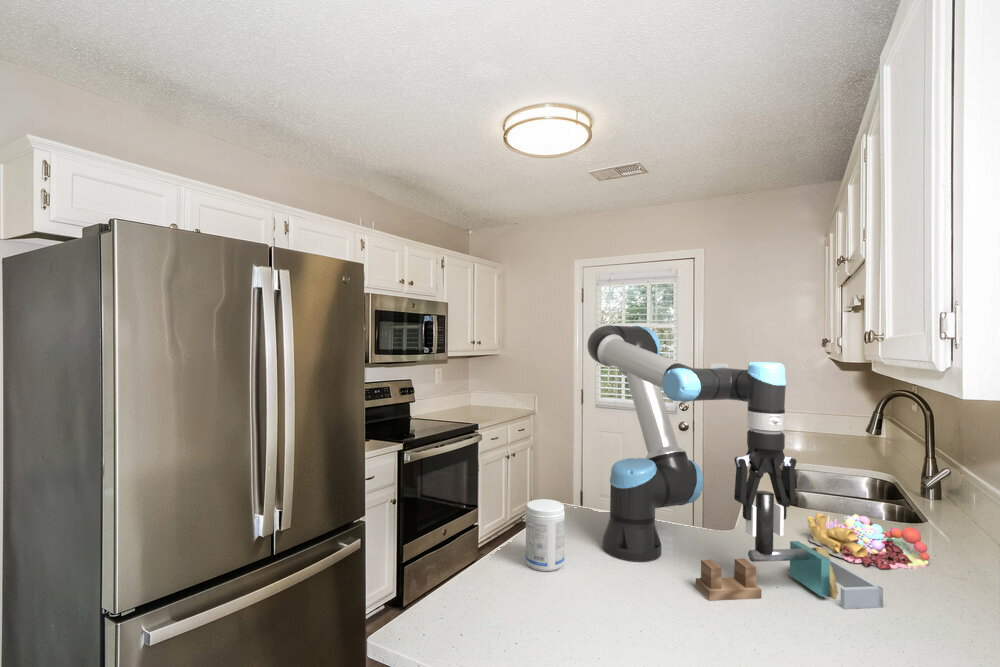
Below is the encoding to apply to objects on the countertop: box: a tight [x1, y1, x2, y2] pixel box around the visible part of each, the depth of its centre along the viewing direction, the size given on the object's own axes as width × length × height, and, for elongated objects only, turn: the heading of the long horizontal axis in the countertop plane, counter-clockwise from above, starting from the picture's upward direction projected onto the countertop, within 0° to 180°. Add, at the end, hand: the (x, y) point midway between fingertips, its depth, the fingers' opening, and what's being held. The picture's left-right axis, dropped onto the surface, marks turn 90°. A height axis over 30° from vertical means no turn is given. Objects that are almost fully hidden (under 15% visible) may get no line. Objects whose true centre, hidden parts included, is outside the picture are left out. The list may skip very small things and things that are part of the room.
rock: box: [810, 546, 839, 600], centre depth 118 cm, size 10×8×10 cm
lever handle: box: [747, 490, 831, 597], centre depth 116 cm, size 15×10×21 cm, turn 97°
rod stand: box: [695, 557, 762, 601], centre depth 114 cm, size 12×6×6 cm, turn 97°
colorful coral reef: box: [806, 512, 930, 570], centre depth 139 cm, size 25×24×9 cm
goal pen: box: [830, 558, 884, 610], centre depth 117 cm, size 9×17×4 cm, turn 7°
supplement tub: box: [525, 498, 566, 572], centre depth 127 cm, size 10×10×15 cm
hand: (764, 533), depth 115 cm, fingers open, 6 cm apart
